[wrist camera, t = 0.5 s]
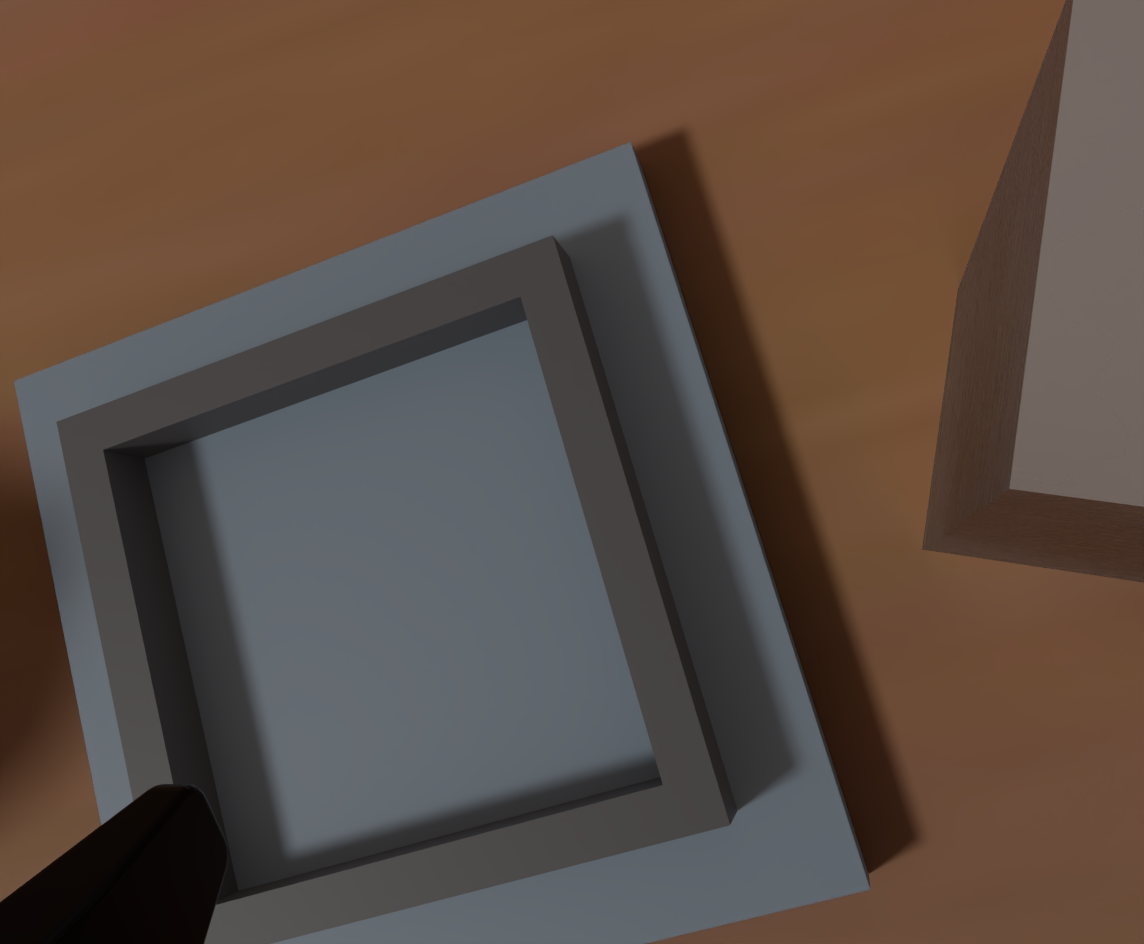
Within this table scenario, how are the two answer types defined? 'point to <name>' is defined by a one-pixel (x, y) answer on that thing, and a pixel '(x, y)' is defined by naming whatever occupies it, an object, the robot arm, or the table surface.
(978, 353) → the block
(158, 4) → the table surface
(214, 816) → the robot arm
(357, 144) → the table surface
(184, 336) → the dock
